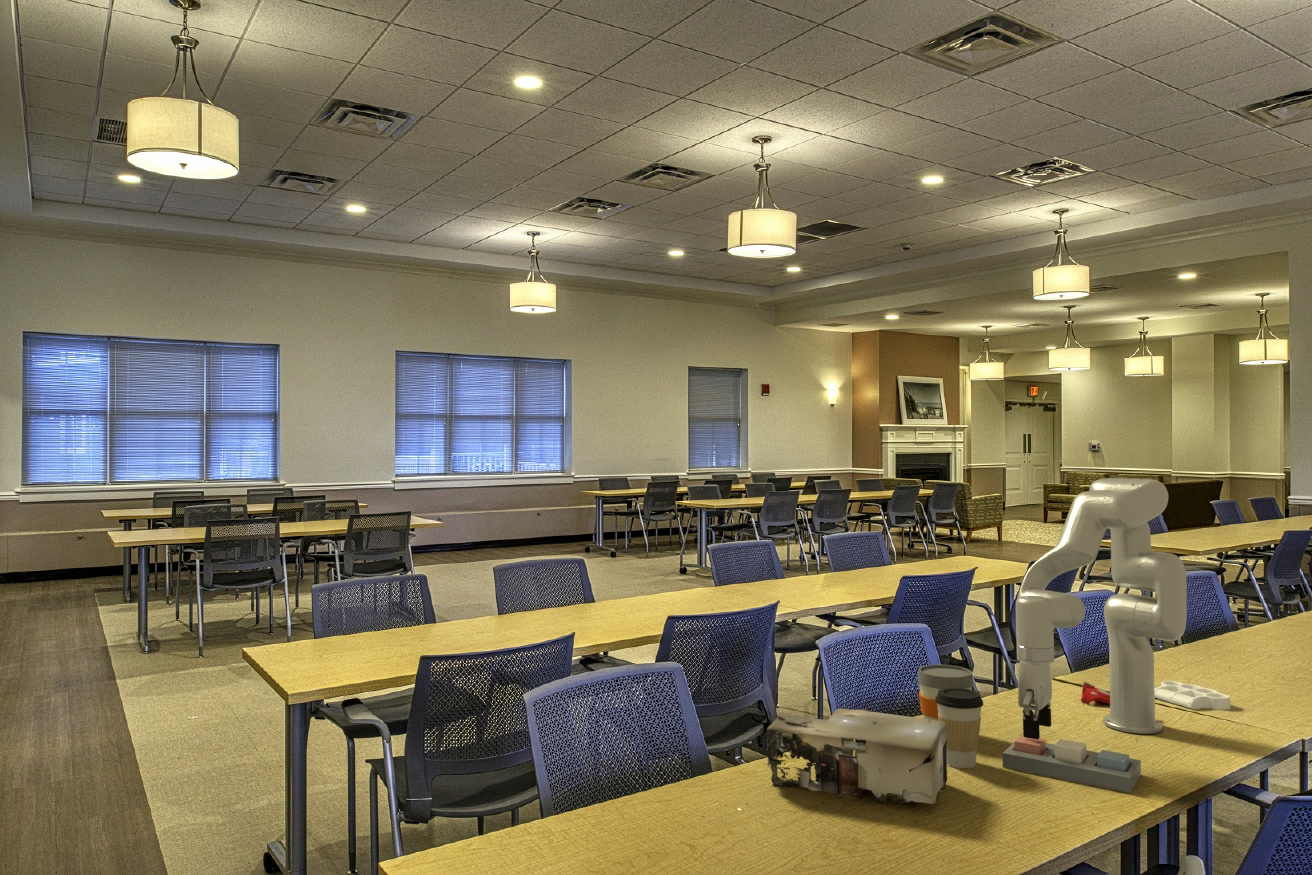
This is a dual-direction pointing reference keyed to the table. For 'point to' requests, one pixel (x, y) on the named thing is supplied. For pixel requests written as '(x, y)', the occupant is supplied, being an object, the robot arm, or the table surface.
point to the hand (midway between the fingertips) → (1037, 731)
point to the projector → (863, 754)
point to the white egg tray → (1192, 696)
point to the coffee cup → (960, 724)
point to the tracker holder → (1094, 694)
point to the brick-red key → (1030, 745)
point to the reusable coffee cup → (940, 685)
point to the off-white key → (1070, 751)
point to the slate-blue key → (1113, 760)
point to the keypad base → (1073, 768)
